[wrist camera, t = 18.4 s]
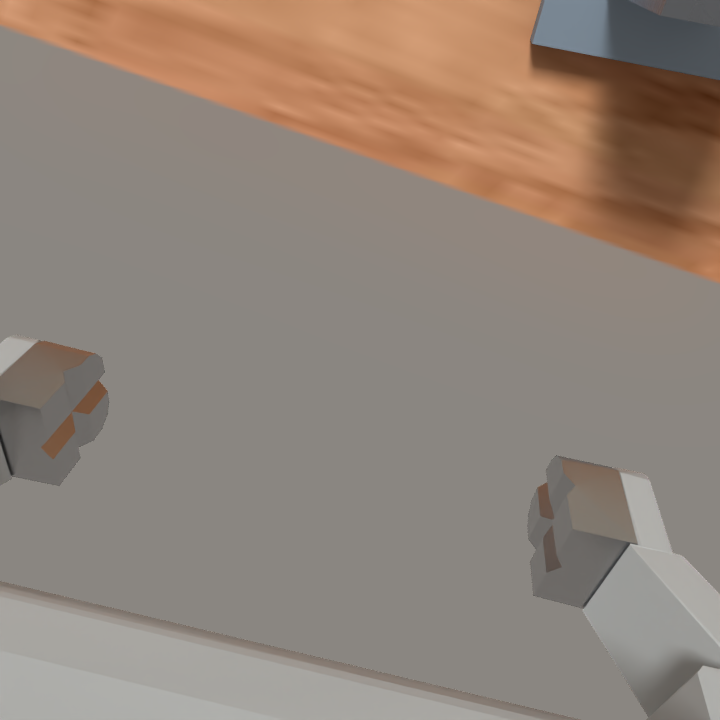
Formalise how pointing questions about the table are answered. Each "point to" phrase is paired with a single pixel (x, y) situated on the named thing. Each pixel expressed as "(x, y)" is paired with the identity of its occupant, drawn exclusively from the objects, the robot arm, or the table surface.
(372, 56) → the table surface
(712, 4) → the steel collar
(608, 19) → the shaft base
